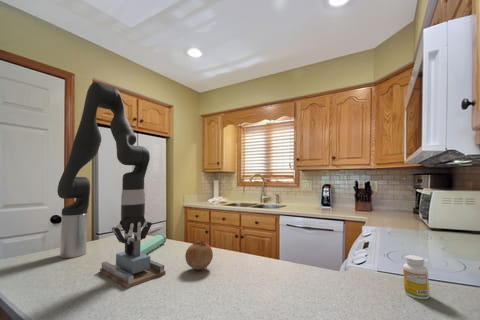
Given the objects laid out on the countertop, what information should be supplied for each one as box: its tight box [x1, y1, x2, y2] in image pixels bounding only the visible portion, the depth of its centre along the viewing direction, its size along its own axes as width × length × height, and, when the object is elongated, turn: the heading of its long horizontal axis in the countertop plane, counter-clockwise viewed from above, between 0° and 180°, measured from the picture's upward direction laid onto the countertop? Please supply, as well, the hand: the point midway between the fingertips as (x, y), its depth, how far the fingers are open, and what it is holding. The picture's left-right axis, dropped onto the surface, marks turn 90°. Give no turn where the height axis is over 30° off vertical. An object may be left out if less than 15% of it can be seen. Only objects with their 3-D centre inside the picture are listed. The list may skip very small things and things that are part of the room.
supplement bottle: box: [402, 254, 431, 300], centre depth 64 cm, size 5×5×10 cm
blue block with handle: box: [115, 237, 151, 274], centre depth 82 cm, size 12×6×9 cm, turn 50°
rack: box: [99, 259, 167, 289], centre depth 82 cm, size 20×13×3 cm, turn 50°
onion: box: [184, 239, 214, 271], centre depth 84 cm, size 10×9×10 cm
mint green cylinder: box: [140, 232, 167, 255], centre depth 106 cm, size 6×6×25 cm
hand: (132, 253), depth 83 cm, fingers closed on blue block with handle
